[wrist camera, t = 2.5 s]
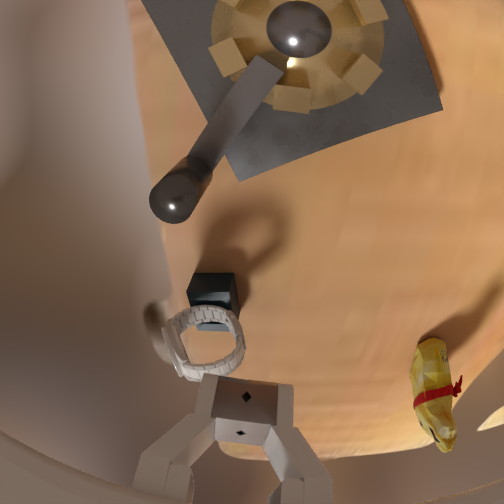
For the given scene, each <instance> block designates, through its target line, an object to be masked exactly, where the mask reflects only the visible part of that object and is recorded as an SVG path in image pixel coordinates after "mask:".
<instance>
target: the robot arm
mask: <svg viewBox="0 0 504 504" xmlns="http://www.w3.org/2000/svg"><path fill="white" fill-rule="evenodd" d="M293 401H294V388H293V385H292V384H280V383H274V382H264V381H255V380H245V379H238V378H232V377H226V376H220V375H215V374H209V373H204V374H203V377H202V380H201V385H200V389H199V393H198V397H197V401H196V406H195V410H194V414H191V413H189V414H188V415H187V416H186V417H184V418H183V419H182V420H181V421H180V422H179V423H178V424H176V425H175V426H174V427H173V428H172V429H170V430H169V431H168V432H167V433H166V434H165V435H164V436H162V437H161V438H160V439H158V440H157V441H156V442H155V443H154V444H153V445H151V446H150V447H149V448H148V449H146V450H145V451H144V452H143V453H142V454H141V458H140V461H139V464H138V468H137V471H136V474H135V478H134V481H133V485H132V488H128V487H125V486H122V485H119V484H116V483H112V482H110V481H106V480H104V479H101V478H98V477H96V476H93V475H91V474H88V473H85V472H83V471H81V470H78V469H76V468H73V467H71V466H69V465H66V464H64V463H62V462H60V461H57V460H55V459H53V458H51V457H49V456H46V455H45V454H43V453H41V452H39V451H37V450H35V449H33V448H31V447H29V446H27V445H25V444H24V443H22V442H20V441H18V440H16V439H15V438H13V437H11V436H9V435H8V434H6V433H4V432H3V431H1V430H0V504H192V498H193V492H194V482H193V476H192V470H191V468H190V466H191V465H192V464H193V463H194V462H195V461H196V460H197V459H198V458H199V457H200V455H202V453H203V452H204V451H205V450H206V449H207V448H208V447H209V446H210V445H211V444H212V443H213V442H214V440H219V441H226V442H235V443H242V444H249V445H256V446H263V449H264V451H265V453H266V455H267V457H268V459H269V461H270V462H271V464H272V466H273V468H274V470H275V472H276V474H277V475H278V477H279V479H280V481H281V483H280V484H279V486H278V487H277V488H276V489H275V490H274V491H273V493H272V494H271V495H270V496H269V501H268V504H333V478H332V476H331V475H330V474H329V472H328V471H327V469H326V468H325V467H324V465H323V464H322V462H321V461H320V460H319V458H318V457H317V455H316V454H315V452H314V451H313V450H312V448H311V447H310V445H309V444H308V442H307V441H306V439H305V438H304V437H303V435H302V434H301V432H300V431H299V429H298V428H296V427H293ZM417 504H504V478H502V479H500V480H497V481H495V482H492V483H489V484H486V485H483V486H481V487H477V488H474V489H471V490H468V491H464V492H461V493H458V494H454V495H451V496H447V497H443V498H439V499H435V500H430V501H426V502H421V503H417Z"/></svg>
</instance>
